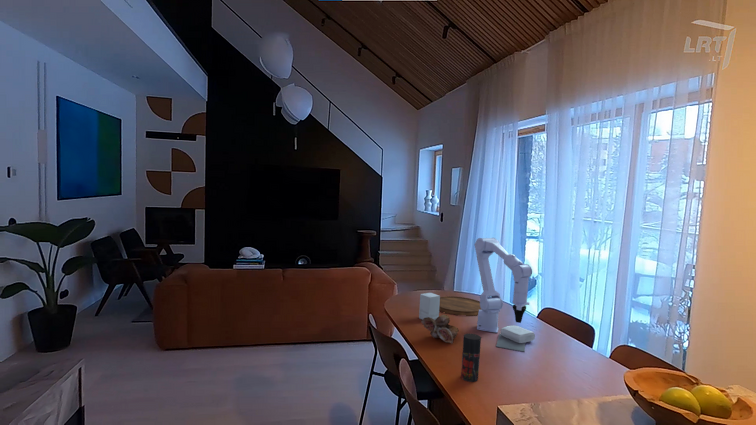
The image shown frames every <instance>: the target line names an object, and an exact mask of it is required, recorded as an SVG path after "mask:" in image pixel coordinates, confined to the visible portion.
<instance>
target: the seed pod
mask: <svg viewBox="0 0 756 425" xmlns="http://www.w3.org/2000/svg"><path fill="white" fill-rule="evenodd" d="M420 322H421V323H422V325H423V327H424V328H425V329H426V330H427V331H429V332H430V333H429V334H430V336H431V337H432V338H434V339H441V340H442V341H443V342H445V343H449V344H452V345H453V343H454V339H456V337H457V336H458V333H459V328H458V327H457V326H454V325H451V324H450V322H451V320H450V316H448V314H447V315H446V314H441V315H439V317H437V319H435V320H434V319H432V318H429V317H428V318H424V319H423V320H422V319H421V320H420Z"/></svg>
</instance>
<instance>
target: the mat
mask: <svg viewBox="0 0 756 425" xmlns="http://www.w3.org/2000/svg"><path fill="white" fill-rule="evenodd" d="M495 347H496V348H499V349H505V350H510V351H517V352H521V353H525V351H526V342H525V343H518V342H515V341H513V340H511V339H508V338H506V337H504V336H502V335H501V333H499V334H498V337H497V341H496V345H495Z"/></svg>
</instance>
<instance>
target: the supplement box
mask: <svg viewBox="0 0 756 425" xmlns="http://www.w3.org/2000/svg"><path fill="white" fill-rule="evenodd" d="M440 297H441V295H440V294H439V295H438V294H436V293H433V292H425V293H424V292H423V293H420V296H419V312H418V318H419V319H420V320H421V321H422V320H423V319H424V318H428V317H429V318H432V319H434V320H435V319H437V317H439V316H440V311H439V304H440Z"/></svg>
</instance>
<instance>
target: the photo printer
mask: <svg viewBox="0 0 756 425" xmlns="http://www.w3.org/2000/svg"><path fill="white" fill-rule="evenodd" d="M500 334H501V335H502V336H504V337H506V338H508V339H511V340H513V341H515V342H518V343H525V344H526V343H530V342H533V341H534V340H535V339H536V334H535V332H534V331H531V330H529V329H526V328H523V327H521V326H518V325H508V326H504V327H502V328H501V329H500Z"/></svg>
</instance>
